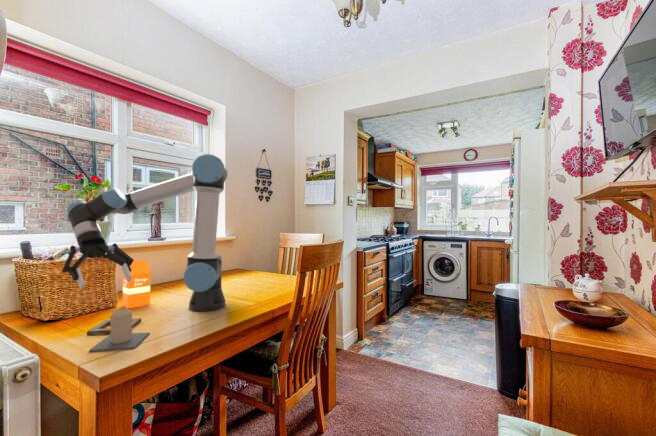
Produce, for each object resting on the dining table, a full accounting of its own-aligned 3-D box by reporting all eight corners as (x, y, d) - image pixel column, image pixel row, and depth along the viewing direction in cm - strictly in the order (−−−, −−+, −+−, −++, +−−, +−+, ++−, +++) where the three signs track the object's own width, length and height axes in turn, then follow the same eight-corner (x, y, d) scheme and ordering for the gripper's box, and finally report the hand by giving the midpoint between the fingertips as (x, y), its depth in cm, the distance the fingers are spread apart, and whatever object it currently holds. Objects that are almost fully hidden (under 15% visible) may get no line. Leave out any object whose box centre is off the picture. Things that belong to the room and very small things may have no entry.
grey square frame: (141, 321, 115) (141, 318, 115) (127, 332, 104) (127, 329, 104) (105, 323, 113) (105, 319, 113) (87, 335, 101) (87, 331, 101)
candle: (108, 345, 91) (108, 312, 92) (113, 338, 97) (113, 307, 97) (129, 342, 94) (129, 310, 94) (133, 336, 99) (133, 305, 99)
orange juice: (150, 304, 138) (150, 260, 139) (128, 308, 132) (128, 262, 132) (144, 301, 143) (144, 259, 144) (122, 305, 137) (122, 260, 137)
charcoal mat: (149, 334, 102) (149, 332, 102) (134, 348, 90) (134, 346, 90) (109, 336, 100) (109, 334, 100) (88, 352, 88) (89, 350, 88)
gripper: (124, 241, 121) (142, 283, 113) (40, 246, 100) (56, 297, 92) (130, 228, 119) (150, 270, 110) (46, 230, 98) (62, 282, 89)
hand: (107, 283), depth 101 cm, fingers open, 13 cm apart
